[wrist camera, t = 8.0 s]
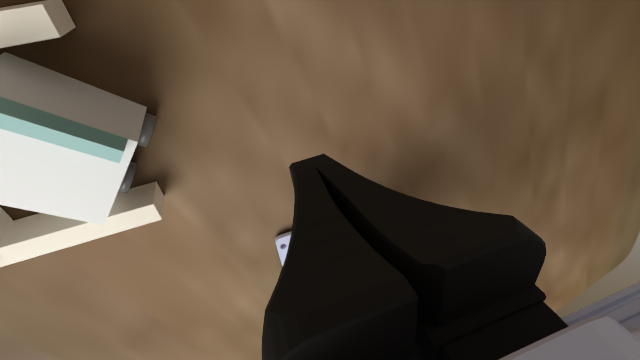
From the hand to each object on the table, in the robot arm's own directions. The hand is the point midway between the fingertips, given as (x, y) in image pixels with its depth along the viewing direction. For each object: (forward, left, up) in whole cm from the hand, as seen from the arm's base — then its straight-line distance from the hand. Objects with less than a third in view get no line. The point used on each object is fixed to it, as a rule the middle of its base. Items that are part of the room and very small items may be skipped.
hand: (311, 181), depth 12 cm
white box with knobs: (+1, +10, -10) cm, 14 cm away
